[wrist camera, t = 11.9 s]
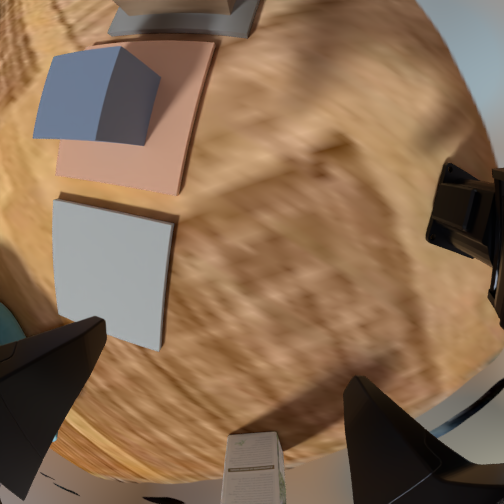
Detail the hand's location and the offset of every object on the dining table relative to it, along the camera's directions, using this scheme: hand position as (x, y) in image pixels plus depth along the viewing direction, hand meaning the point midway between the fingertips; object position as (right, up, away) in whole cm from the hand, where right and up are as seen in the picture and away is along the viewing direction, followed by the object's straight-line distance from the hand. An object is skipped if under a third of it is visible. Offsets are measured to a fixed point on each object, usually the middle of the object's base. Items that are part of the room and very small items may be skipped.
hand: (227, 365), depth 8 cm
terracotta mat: (-8, +14, +7) cm, 18 cm away
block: (-8, +14, +7) cm, 17 cm away
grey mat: (-11, +2, +11) cm, 16 cm away
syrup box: (+1, -19, +17) cm, 26 cm away
